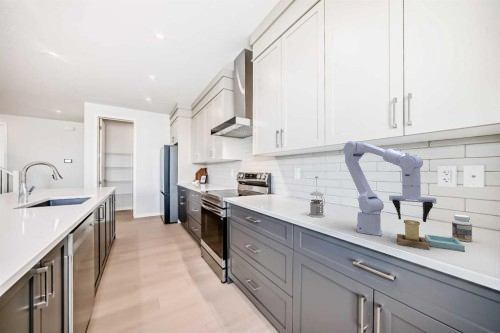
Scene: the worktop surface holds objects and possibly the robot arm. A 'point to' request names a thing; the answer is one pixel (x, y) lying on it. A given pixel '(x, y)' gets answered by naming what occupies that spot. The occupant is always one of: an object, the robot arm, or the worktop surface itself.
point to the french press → (316, 205)
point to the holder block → (413, 242)
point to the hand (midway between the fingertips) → (411, 220)
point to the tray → (444, 242)
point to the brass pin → (412, 230)
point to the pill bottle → (462, 228)
